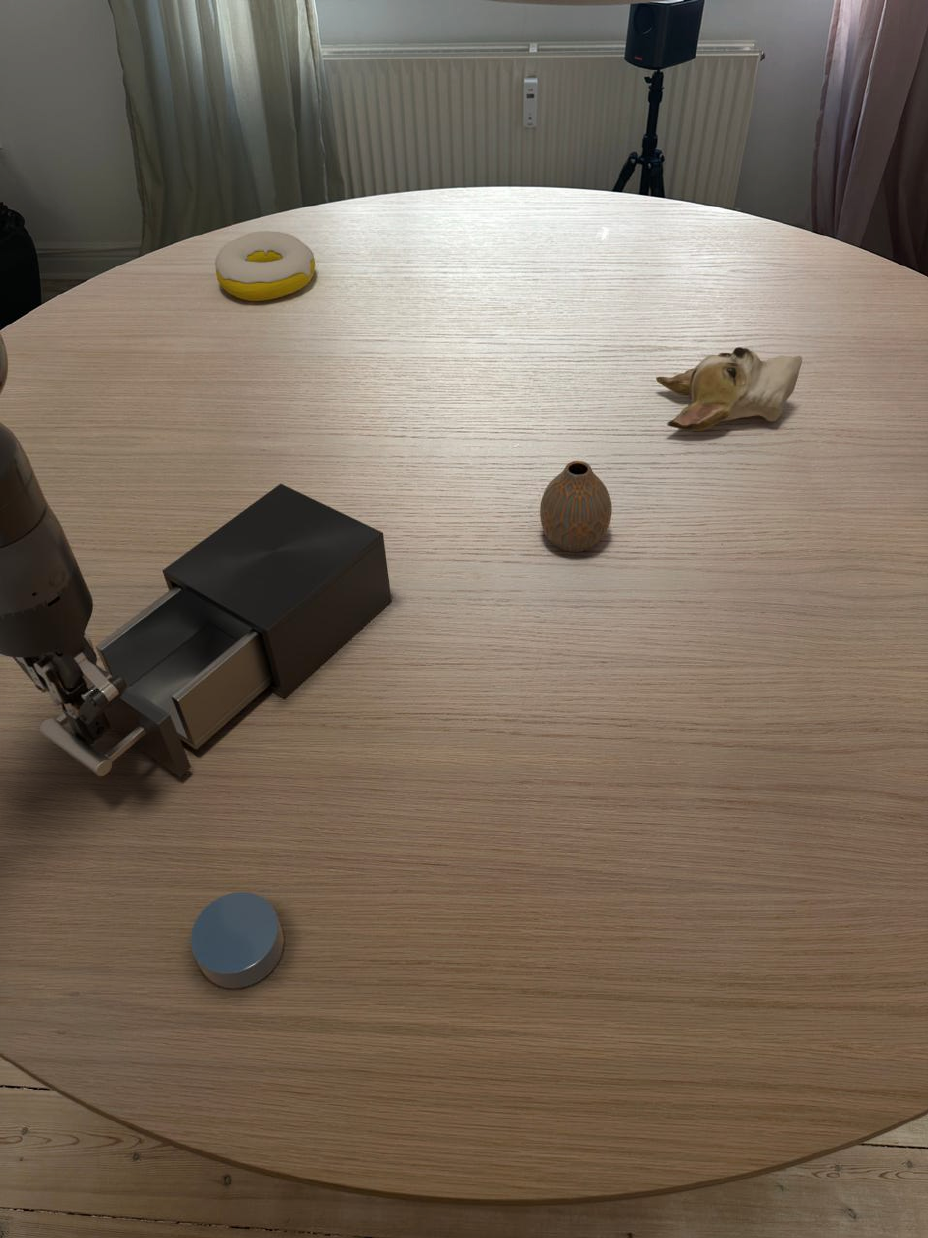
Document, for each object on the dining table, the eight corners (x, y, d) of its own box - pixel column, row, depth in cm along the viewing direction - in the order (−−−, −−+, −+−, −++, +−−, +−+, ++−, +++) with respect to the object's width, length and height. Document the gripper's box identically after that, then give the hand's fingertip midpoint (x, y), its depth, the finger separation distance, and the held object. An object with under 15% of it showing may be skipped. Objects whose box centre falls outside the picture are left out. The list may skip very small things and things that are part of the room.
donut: (219, 265, 143) (211, 231, 139) (313, 254, 144) (308, 220, 141) (220, 311, 133) (211, 276, 130) (321, 299, 135) (316, 264, 131)
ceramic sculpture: (816, 369, 102) (670, 381, 103) (804, 439, 108) (666, 449, 109) (793, 318, 109) (657, 330, 110) (782, 386, 115) (654, 396, 117)
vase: (567, 571, 95) (571, 500, 89) (525, 533, 99) (526, 463, 93) (623, 543, 97) (630, 472, 91) (579, 507, 101) (584, 437, 95)
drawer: (132, 820, 76) (105, 768, 71) (41, 751, 81) (11, 698, 76) (296, 672, 86) (283, 618, 81) (206, 619, 91) (189, 565, 86)
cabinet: (284, 699, 85) (266, 630, 79) (185, 638, 90) (161, 570, 84) (392, 601, 93) (383, 532, 87) (295, 551, 98) (280, 482, 92)
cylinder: (212, 1004, 66) (204, 989, 65) (188, 930, 70) (180, 914, 68) (296, 964, 68) (290, 948, 66) (268, 895, 72) (262, 878, 70)
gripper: (-93, 563, 65) (3, 726, 78) (28, 647, 60) (111, 808, 72) (3, 504, 69) (80, 667, 82) (125, 577, 64) (188, 741, 76)
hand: (94, 733), depth 77 cm, fingers closed
